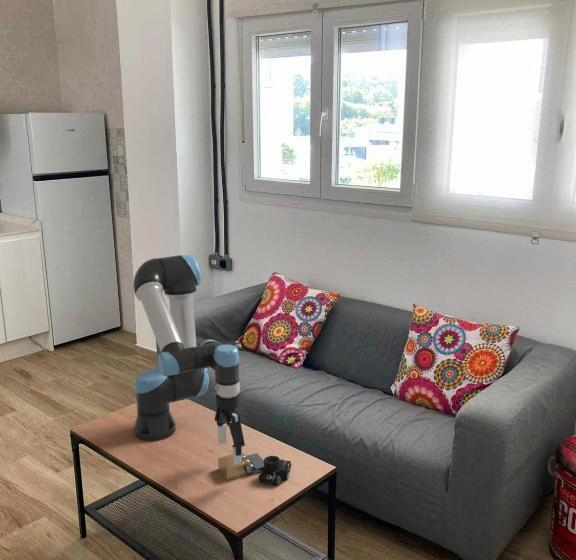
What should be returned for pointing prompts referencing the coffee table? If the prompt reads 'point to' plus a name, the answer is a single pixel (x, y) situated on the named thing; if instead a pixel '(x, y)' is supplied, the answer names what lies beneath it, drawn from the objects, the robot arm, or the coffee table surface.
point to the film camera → (274, 470)
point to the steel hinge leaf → (253, 464)
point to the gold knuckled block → (231, 467)
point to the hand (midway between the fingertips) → (229, 453)
